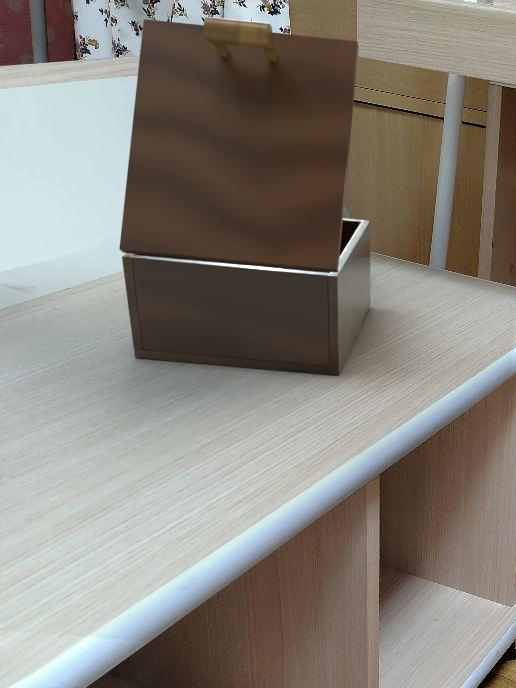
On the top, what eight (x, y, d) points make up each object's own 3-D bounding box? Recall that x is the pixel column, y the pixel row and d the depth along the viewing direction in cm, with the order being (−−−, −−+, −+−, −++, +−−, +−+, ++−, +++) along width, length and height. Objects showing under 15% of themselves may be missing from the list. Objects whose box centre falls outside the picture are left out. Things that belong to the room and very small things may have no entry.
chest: (198, 291, 101) (190, 203, 97) (370, 307, 102) (370, 220, 97) (134, 357, 85) (121, 256, 81) (338, 375, 86) (337, 276, 82)
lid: (146, 24, 82) (124, -13, 77) (358, 46, 83) (350, 11, 78) (122, 252, 81) (98, 230, 76) (338, 272, 82) (328, 251, 77)
